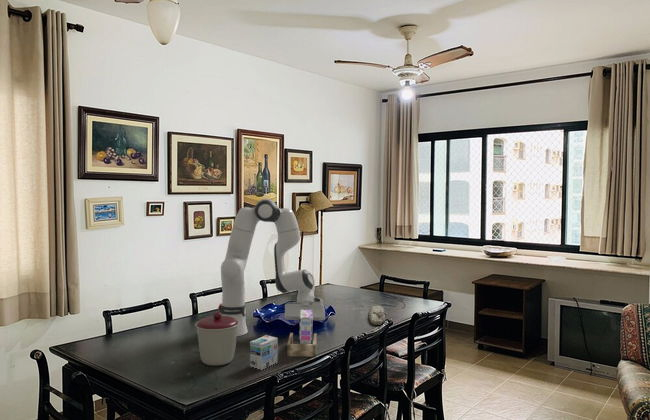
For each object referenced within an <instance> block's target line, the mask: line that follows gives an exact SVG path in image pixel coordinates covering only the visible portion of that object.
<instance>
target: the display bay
mask: <svg viewBox="0 0 650 420" xmlns="http://www.w3.org/2000/svg"><path fill="white" fill-rule="evenodd" d="M317 338H318V337H317V332H316V333H313V339H312V344H299V343H294V332H290V333H289V337H288V341H287V344H286V345H287V347H286V348H287V349H286V350H287V351H286V354H287V355H286V356H287V357H311V358H312V357H316V355H317V346H318V344H317V341H318V340H317Z"/></svg>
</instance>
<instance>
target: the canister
mask: <svg viewBox="0 0 650 420" xmlns="http://www.w3.org/2000/svg"><path fill="white" fill-rule="evenodd" d="M238 325H239V321H238V320H237V319H235V318H233V317H230V316H222V314H221V313H220V312H219V311H215V312H214V313H213V315H212V316H206V317H203V318H201V319H199V320H198V321H196V322H195V324H194V326H195V328H196V332H197V341H198V348H199V355H200V359H201V361H202V363H203V364H204V365H207V366H212V367H213V366H214V367H215V366H216V367H218V366H224V365H227V364H229V363H230V362H232V360H233V359H234V358H235V357H234V356H235V353H236V352H235V351H236V345H237V337H238V336H237V328H238Z"/></svg>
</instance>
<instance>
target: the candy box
mask: <svg viewBox="0 0 650 420" xmlns="http://www.w3.org/2000/svg"><path fill="white" fill-rule="evenodd" d="M298 321H299V325H298V329H299V330H298V335H299V336H298V344H313V321H314V320H313V316H312V310H301V312H300V319H299V320H298Z"/></svg>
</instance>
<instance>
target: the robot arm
mask: <svg viewBox="0 0 650 420" xmlns="http://www.w3.org/2000/svg"><path fill="white" fill-rule="evenodd" d="M260 221H261V222H265V223H274V225H275V229H276V233H277V241H276V243H274V246H273V247H274V248H273V250H274V251H273V254H274V255H273V256H274V258H273V259H274V270H275V272H274V273H275V280H274V282H275V288H276V289H277V291H278V292H280V293H282V294H286V293H290V292H294V291H297V292H298V293H297V297H296V301H292V302H291V301H288V302H286V303H285V304H284V319H285V320H287V321H288V320H289V321H290V320H291V321H299V319H300V312H301V310H312V316H313V321H324V320H325V319H326V310H325V306H324V301H323V299H322V298H320V297H316V296H315V289H316V286H315V278H314V274H312V273H311V272H309V271H308V270H307V269H298V270H294V271H288V272H286V271H285V254H286V253H287V252H289V250H291V249H293V248H294V247H296V246H297V245H298V243H299V242H300V240H301V231H300V227H299V223H298V220H297V217H296V215H295V213H294V211H293V209H292V208H288V207H284V208H280V207H278V206H277V203H276V202H275V201H274V200H273V199H271V198H262V199H260V200H259V201H257V203H256V204H255V205H254V206H253V207H249V206H245V207H244V206H243V207H241V208H240V209H239V210H238V211H237V214H236V216H235V219H234V222H233V225H232V227H231V232H230V235H229V240H228V244H227V250H226V255H225V258H224V260H223V262H221V266H220V280H221V289H222V291H221V292H222V295H221V296H222V297H221V298H222V301H221V303H219V305H218V307H217V310H218V311H217V312H220V313H221V314H222V316H230V317H233V318H235V319H237V320H238V321H239V325H238V328H237V337H240V336H244V335H247V333H249V331H248V327H247V323H246V322H247V321H246V313H247V312H246V311H247V309H246V308H247V307H246V303H245V302H246V299H245V297H246V296H245V295H246V292H245V275H244V274H245V273H244V272H245V270H246V267H247V262H248V258H249V255H250V250H251V247H252V244H253V243H252V242H253V238H254V236H255V232H256V227H257V225H258V223H259V222H260Z"/></svg>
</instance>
